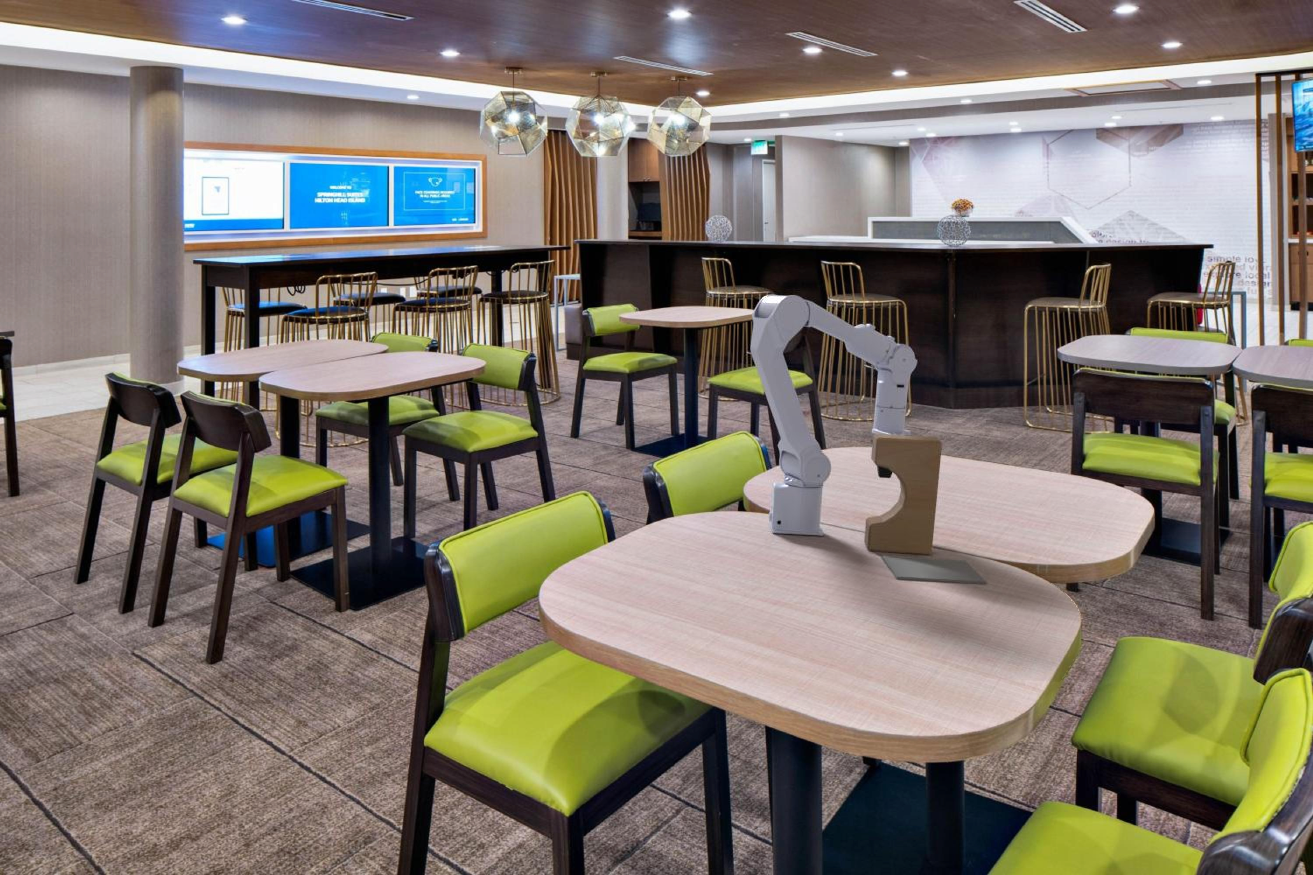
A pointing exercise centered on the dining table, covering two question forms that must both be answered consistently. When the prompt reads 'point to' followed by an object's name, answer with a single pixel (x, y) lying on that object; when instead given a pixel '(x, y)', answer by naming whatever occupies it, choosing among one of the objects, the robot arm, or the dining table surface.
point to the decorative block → (906, 494)
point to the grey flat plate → (933, 570)
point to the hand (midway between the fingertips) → (884, 477)
